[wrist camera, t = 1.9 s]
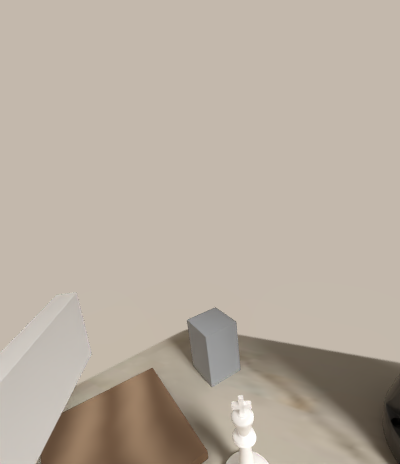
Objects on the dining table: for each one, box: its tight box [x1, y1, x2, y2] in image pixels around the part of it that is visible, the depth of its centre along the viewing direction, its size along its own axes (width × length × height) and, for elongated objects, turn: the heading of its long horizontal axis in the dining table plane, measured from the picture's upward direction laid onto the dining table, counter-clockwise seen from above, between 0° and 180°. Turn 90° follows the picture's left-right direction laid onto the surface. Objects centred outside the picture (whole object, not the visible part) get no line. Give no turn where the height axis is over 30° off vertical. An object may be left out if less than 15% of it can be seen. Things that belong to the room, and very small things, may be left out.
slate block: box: [187, 308, 240, 387], centre depth 41 cm, size 5×5×8 cm
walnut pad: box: [41, 368, 208, 464], centre depth 32 cm, size 15×15×1 cm
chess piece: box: [226, 395, 269, 464], centre depth 26 cm, size 5×5×10 cm
